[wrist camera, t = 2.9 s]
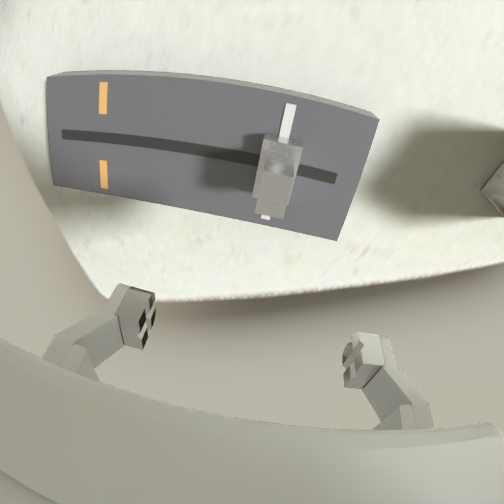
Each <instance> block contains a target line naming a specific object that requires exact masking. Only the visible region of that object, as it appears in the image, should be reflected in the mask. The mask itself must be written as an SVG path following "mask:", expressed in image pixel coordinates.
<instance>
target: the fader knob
mask: <svg viewBox="0 0 504 504" xmlns="http://www.w3.org/2000/svg"><path fill="white" fill-rule="evenodd" d="M302 150H303V142H300V141H296V140H291V139H287V138H283V137H278V136H273V135H269V134H265V136H264V139H263V144H262V149H261V154H260V159H259V164H258V169H257V174H256V179H255V184H254V189H253V194H252V197H255V198H258V199H257V203H256V208H255V213H256V214H261V215H265V216H270V217H275V218H279V219H283V218H284V214H285V210H286V206H287V205H288V204H289V200H290V196H291V193H292V189H293V185H294V181H295V177H296V174H297V170H298V166H299V162H300V158H301V154H302Z"/></svg>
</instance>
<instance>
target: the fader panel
mask: <svg viewBox="0 0 504 504" xmlns="http://www.w3.org/2000/svg"><path fill="white" fill-rule="evenodd" d="M47 120H48V137H49V149H50V160H51V169H52V177H53V185H55V186H61V187H67V188H73V189H79V190H85V191H91V192H97V193H102V194H108V195H114V196H119V197H125V198H130V199H136V200H141V201H147V202H152V203H157V204H163V205H168V206H173V207H178V208H183V209H189V210H194V211H199V212H204V213H209V214H214V215H219V216H224V217H228V218H233V219H238V220H243V221H248V222H253V223H257V224H262V225H267V226H271V227H276V228H281V229H285V230H290V231H294V232H299V233H303V234H308V235H312V236H317V237H321V238H326V239H330V240H334V241H337V239H338V237H339V234H340V231H341V229H342V226H343V224H344V221H345V218H346V216H347V213H348V210H349V208H350V205H351V202H352V199H353V197H354V194H355V191H356V188H357V186H358V183H359V180H360V177H361V174H362V171H363V168H364V165H365V162H366V159H367V157H368V154H369V151H370V147H371V144H372V141H373V138H374V135H375V132H376V129H377V126H378V122H379V119H378V118H377V117H376V116H375V115H374V114H372V113H371V112H369V111H366V110H363V109H359V108H356V107H353V106H350V105H346V104H343V103H339V102H336V101H332V100H328V99H325V98H321V97H317V96H313V95H309V94H305V93H301V92H296V91H292V90H287V89H283V88H278V87H273V86H268V85H263V84H257V83H251V82H246V81H239V80H233V79H226V78H219V77H211V76H203V75H193V74H183V73H171V72H155V71H129V70H97V71H71V72H63V73H59V74H55V75H52V76H48V77H47ZM265 134H269V135H273V136H278V137H283V138H287V139H291V140H296V141H300V142H303V150H302V154H301V158H300V162H299V166H298V170H297V174H296V177H295V181H294V185H293V189H292V193H291V196H290V200H289V204H288V205H287V206H286V210H285V214H284V218H283V219H279V218H275V217H270V216H265V215H261V214H256V213H255V208H256V203H257V199H258V198H255V197H252V194H253V189H254V184H255V179H256V174H257V169H258V164H259V159H260V154H261V149H262V144H263V139H264V136H265Z"/></svg>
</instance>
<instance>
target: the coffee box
mask: <svg viewBox="0 0 504 504" xmlns="http://www.w3.org/2000/svg"><path fill="white" fill-rule="evenodd" d="M481 191H482V193H483V194H484V195H485V196H486V198H487V199H488V200H489V201H490V202H491V203H492V204H493V206H494V207H495V208H496V209H497V210H498V211H499V213H500V214H501V215H502V216H503V217H504V162H503V163H502V164H501V166H500V167H499V168H498V170H497V171H496V172H495V173H494V175H493V176H492V177H491V179H490V180H489V181H488V182H487V184H486V185H485V186H484V187H483V188H482V190H481Z"/></svg>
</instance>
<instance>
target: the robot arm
mask: <svg viewBox="0 0 504 504" xmlns="http://www.w3.org/2000/svg"><path fill="white" fill-rule="evenodd" d="M154 301H155V293H153V292H150V291H146V290H142V289H139V288H135V287H132V286H128V285H124V284H119V285H117V286H116V288H115V290H114V292H113V293H112V295H111V297H110V298H109V300H108V302H107V304H106V305H105V307H104V309H103V311H98V312H96V313H94V314H92V315H90V316H89V317H87V318H85V319H83V320H81V321H79V322H78V323H76V324H74V325H72V326H70V327H69V328H67V329H65V330H63V331H62V332H60V333H58V334H56V335H55V336H54V338H53V340H52V341H51V343H50V345H49V346H48V348H47V350H46V352H45V353H44V355H43V357H42V358H40V357H38V356H36V355H34V354H32V353H29V352H27V351H25V350H23V349H21V348H19V347H17V346H15V345H13V344H11V343H9V342H7V341H5V340H3V339H1V338H0V504H504V434H503V433H502V432H501V430H500V429H499V428H498V427H497V426H496V425H495V424H494V423H491V422H485V423H477V424H471V425H462V426H452V427H441V428H434V426H433V420H432V415H431V410H430V405H429V403H428V402H427V401H426V399H425V398H424V397H423V396H422V394H421V393H420V392H419V391H418V390H417V388H416V387H415V386H414V385H413V384H412V383H411V381H410V380H409V379H408V378H407V376H406V375H405V374H404V373H403V372H402V371H401V370H400V368H397V367H396V363H395V358H394V354H393V349H392V345H391V341H390V338H389V336H383V335H377V334H369V333H361V332H356V333H354V334H353V336H352V342H350V343H348V344H347V346H346V347H345V349H344V352H343V358H342V362H343V366H344V367H345V368H346V371H345V372H344V386H345V387H348V388H357V389H362V391H363V392H364V394H365V395H366V397H367V399H368V401H369V402H370V404H371V405H372V407H373V409H374V411H375V412H376V414H377V416H378V417H379V419H380V421H381V423H380V424H379V425H377V426H376V427H375V428H374V429H373V430H350V429H330V428H316V427H305V426H294V425H285V424H277V423H270V422H262V421H256V420H250V419H243V418H238V417H232V416H227V415H221V414H216V413H211V412H207V411H202V410H197V409H193V408H189V407H185V406H180V405H176V404H172V403H169V402H164V401H161V400H157V399H154V398H150V397H147V396H143V395H140V394H136V393H133V392H130V391H127V390H124V389H120V388H117V387H115V386H111V385H109V384H105V383H103V382H100V381H99V379H98V377H97V374H96V372H95V370H94V368H96V367H97V366H98V365H100V364H101V363H102V362H103V361H104V360H106V359H107V358H109V357H110V356H111V355H112V354H114V353H115V352H116V351H118V350H119V349H120V348H122V347H123V346H124V345H127V346H131V347H134V348H139V349H142V350H143V348H144V346H145V344H146V341H147V339H148V330H150V329H152V326H153V324H154V320H155V315H156V307H155V305H154V304H153V303H154Z"/></svg>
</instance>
